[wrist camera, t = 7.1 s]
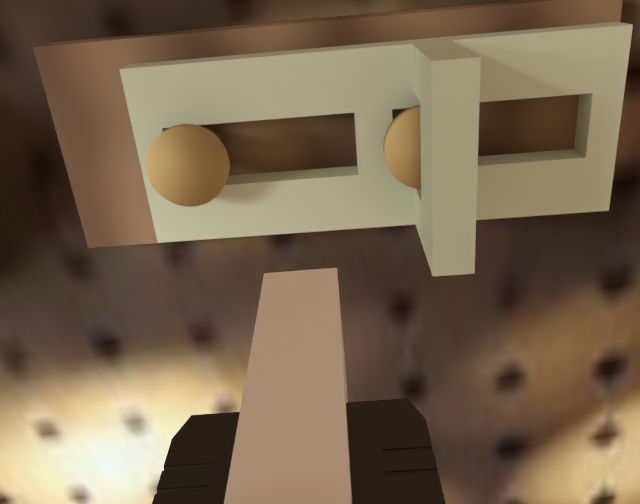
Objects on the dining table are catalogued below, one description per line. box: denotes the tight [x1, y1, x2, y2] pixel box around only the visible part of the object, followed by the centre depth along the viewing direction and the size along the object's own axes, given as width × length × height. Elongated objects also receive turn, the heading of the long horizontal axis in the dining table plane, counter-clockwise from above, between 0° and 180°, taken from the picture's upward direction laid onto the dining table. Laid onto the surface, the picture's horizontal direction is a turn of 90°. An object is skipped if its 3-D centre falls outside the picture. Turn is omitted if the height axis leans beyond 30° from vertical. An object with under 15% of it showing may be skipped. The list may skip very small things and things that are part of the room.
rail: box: [33, 0, 623, 248], centre depth 27 cm, size 26×10×6 cm, turn 95°
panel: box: [119, 22, 633, 276], centre depth 24 cm, size 21×8×7 cm, turn 95°
